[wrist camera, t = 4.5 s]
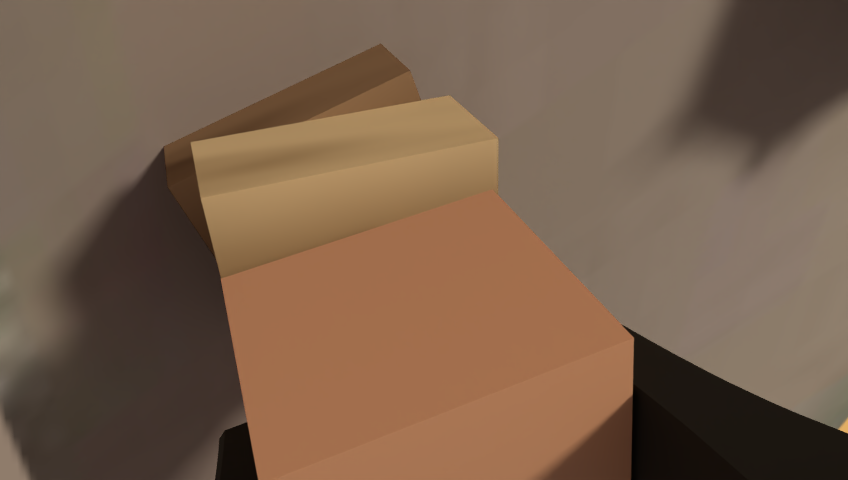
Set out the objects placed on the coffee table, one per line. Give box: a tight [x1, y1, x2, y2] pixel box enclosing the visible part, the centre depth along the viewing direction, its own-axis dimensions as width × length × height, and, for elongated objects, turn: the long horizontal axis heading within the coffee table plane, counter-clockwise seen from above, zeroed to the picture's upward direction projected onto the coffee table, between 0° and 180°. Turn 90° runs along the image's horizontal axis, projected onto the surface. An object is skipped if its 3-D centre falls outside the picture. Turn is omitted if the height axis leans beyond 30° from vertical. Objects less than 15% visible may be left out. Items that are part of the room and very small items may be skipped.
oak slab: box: [191, 95, 498, 278], centre depth 15 cm, size 6×6×2 cm
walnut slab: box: [164, 44, 421, 258], centre depth 17 cm, size 6×6×2 cm
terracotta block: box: [221, 189, 634, 480], centre depth 11 cm, size 4×4×4 cm
